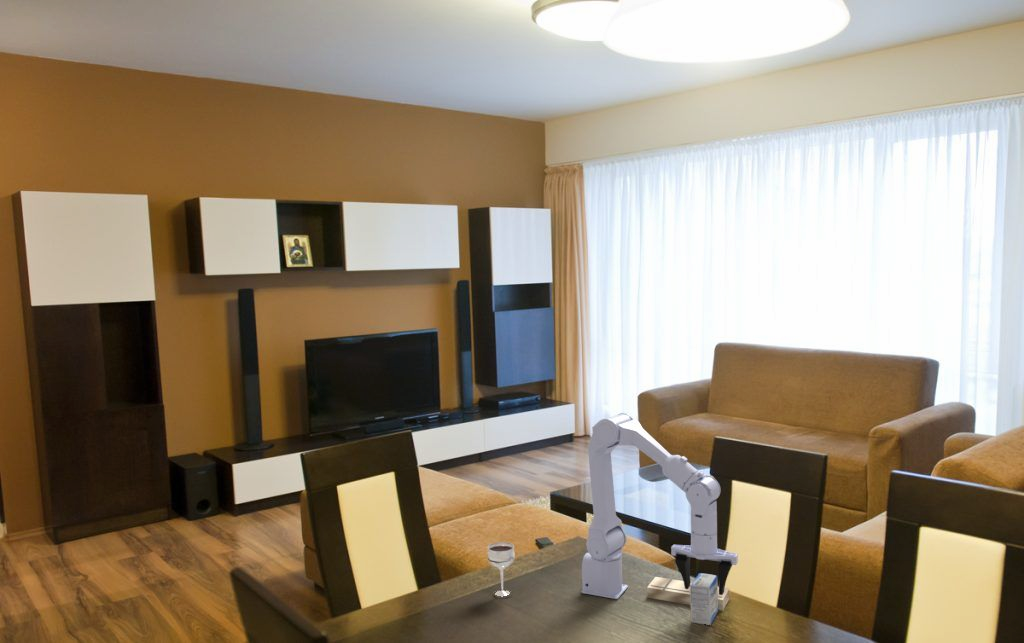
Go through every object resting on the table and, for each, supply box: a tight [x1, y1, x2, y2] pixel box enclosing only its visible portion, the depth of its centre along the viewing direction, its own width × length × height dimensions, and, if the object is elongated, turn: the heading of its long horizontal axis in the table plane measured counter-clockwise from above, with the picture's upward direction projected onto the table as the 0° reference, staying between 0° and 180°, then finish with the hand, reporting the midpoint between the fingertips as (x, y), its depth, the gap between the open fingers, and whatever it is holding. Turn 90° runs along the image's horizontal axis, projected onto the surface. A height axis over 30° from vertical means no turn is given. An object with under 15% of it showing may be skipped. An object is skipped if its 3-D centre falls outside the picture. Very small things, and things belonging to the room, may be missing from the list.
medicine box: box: [690, 572, 719, 626], centre depth 173 cm, size 8×4×9 cm, turn 153°
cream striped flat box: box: [646, 576, 730, 611], centre depth 183 cm, size 18×7×3 cm, turn 63°
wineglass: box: [487, 541, 516, 597], centre depth 188 cm, size 7×7×12 cm
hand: (704, 590), depth 173 cm, fingers open, 7 cm apart
